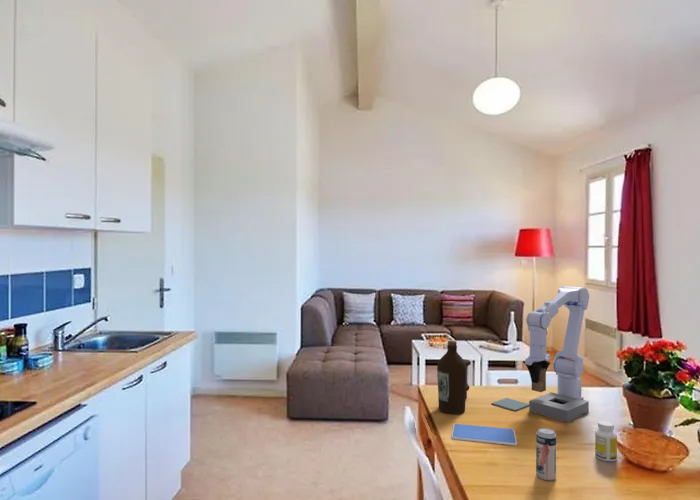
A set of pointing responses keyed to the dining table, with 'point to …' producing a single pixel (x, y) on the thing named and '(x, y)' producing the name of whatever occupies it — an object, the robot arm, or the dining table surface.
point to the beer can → (546, 454)
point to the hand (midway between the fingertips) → (537, 381)
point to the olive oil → (452, 381)
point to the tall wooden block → (540, 382)
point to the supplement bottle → (606, 442)
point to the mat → (510, 404)
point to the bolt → (466, 379)
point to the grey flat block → (559, 406)
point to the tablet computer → (484, 434)
